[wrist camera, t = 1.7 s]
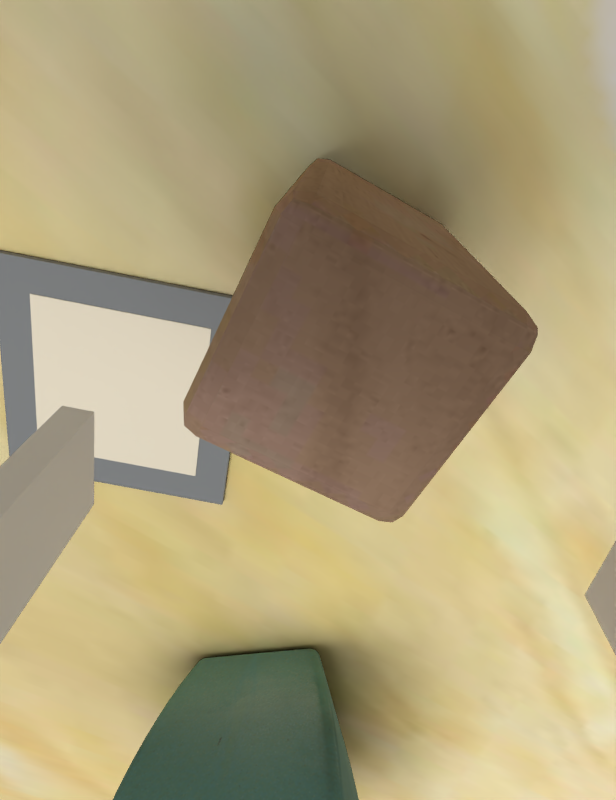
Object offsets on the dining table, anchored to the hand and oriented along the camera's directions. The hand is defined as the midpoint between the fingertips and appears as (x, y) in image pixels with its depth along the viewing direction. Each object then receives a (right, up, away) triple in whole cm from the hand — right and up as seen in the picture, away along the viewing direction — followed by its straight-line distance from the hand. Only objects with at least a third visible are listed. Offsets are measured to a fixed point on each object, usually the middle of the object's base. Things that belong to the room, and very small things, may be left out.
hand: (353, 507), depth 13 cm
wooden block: (+2, +12, +24) cm, 27 cm away
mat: (-16, +4, +29) cm, 33 cm away
